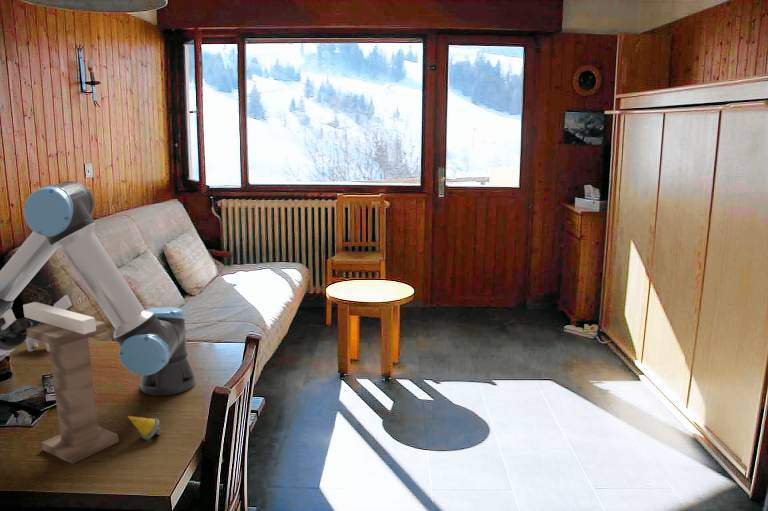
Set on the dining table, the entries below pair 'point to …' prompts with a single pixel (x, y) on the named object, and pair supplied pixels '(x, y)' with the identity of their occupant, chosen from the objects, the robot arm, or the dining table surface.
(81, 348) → the pedestal
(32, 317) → the bar
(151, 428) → the drill bit
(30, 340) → the dog figurine
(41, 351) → the dining table surface
